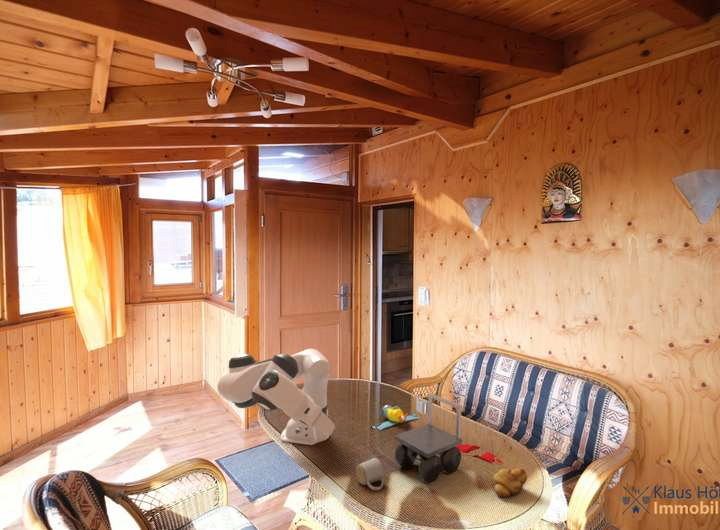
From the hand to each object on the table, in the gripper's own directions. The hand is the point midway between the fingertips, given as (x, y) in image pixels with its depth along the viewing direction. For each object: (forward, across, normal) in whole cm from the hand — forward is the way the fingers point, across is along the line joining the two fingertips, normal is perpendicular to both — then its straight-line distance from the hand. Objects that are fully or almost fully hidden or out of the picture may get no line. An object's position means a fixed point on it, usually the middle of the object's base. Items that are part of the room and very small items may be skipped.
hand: (326, 428), depth 141 cm
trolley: (+48, +6, +12) cm, 50 cm away
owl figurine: (+62, -35, +25) cm, 75 cm away
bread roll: (+57, +33, +21) cm, 69 cm away
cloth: (+67, +9, +30) cm, 74 cm away
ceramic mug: (+32, +1, -4) cm, 32 cm away
